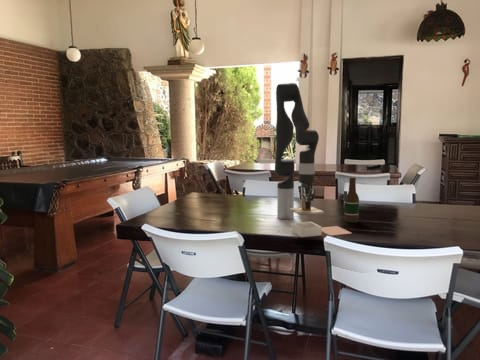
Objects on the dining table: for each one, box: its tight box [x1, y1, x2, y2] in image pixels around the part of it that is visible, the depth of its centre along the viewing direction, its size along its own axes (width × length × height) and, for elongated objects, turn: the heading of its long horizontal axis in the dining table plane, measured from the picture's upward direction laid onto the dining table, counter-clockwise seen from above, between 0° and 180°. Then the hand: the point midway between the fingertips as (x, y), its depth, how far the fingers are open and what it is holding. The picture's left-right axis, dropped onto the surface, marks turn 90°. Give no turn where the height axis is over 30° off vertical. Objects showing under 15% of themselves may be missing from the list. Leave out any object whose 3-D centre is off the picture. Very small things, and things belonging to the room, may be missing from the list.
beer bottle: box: [343, 176, 360, 224], centre depth 206 cm, size 8×8×24 cm
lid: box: [290, 197, 325, 216], centre depth 183 cm, size 12×12×7 cm
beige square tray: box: [291, 221, 323, 238], centre depth 185 cm, size 11×11×4 cm
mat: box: [321, 225, 352, 236], centre depth 189 cm, size 14×12×1 cm
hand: (306, 208), depth 183 cm, fingers closed on lid, 3 cm apart
